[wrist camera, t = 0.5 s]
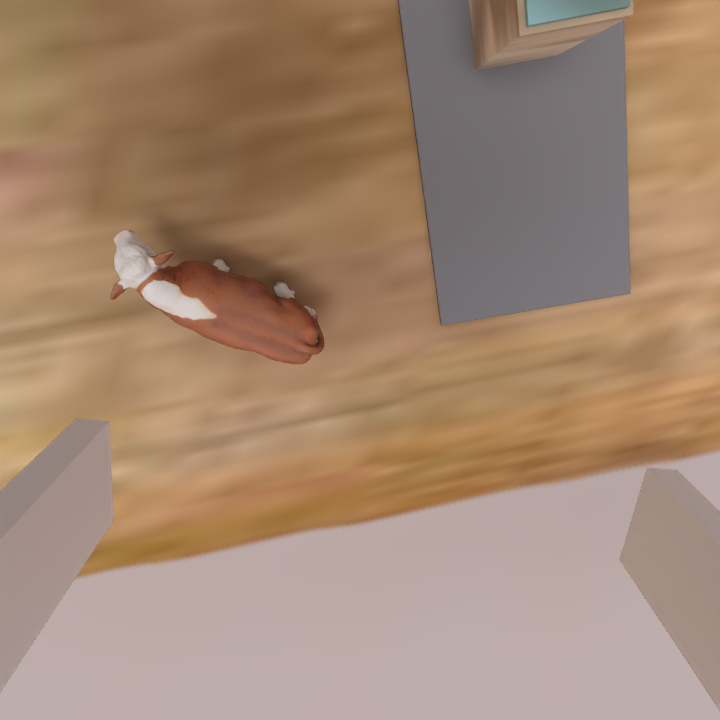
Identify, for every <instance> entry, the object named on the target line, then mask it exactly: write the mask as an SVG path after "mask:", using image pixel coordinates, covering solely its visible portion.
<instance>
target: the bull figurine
mask: <svg viewBox="0 0 720 720" xmlns="http://www.w3.org/2000/svg"><path fill="white" fill-rule="evenodd" d="M114 243H115V245H116V246H117V250H116V253H115V257H114V265H115V270H116V271H117V273H118V274H119V276H120V278H121V279H120V280H119V281H118V282H117V283H116V284H115V285H114V287H113V289H112V292H111V296H110V299H111V300H114V299H116V298H117V297H118V296H119V295H120V294H121V293H123V292H124V291H125V290H126V289H127V288H129V287H131V288H134V289H136V290H137V291H138V292H139V293H140V295H141V296H142V297H143V298H144V299H145V301H146V302H147V303H149V304H150V305H151V306H153V307H155V308H156V309H159V310H161V311H162V312H163V313H164V314H165V315H167V316H168V317H170V318H171V319H172V320H173V321H174V322H176V323H177V324H179V325H181V326H184V327H186V328H188V329H191V330H193V331H195V332H197V333H198V334H200V335H202V336H204V337H206V338H209V339H211V340H213V341H216V342H218V343H221V344H223V345H226V346H228V347H232V348H235V349H240V350H247V351H253V352H256V353H259V354H261V355H263V356H266V357H267V358H270V359H272V360H275V361H280V362H284V363H290V364H303V363H306V362H307V361H308V360H309V359H310V358H311V354H318V353H320V352H321V351H322V349H323V348H324V338H323V334H322V332H321V329H320V327H319V324H318V320H317V314H316V312H315V310H314V309H311V308H310V307H308V306H307V305H305V306H303V305H301V304H300V303H299V302H298V300H297V299H295V298H294V294H295V292H294V291H293V290H290V289H289V288H288V286H287V284H286V283H285V282H276V283H275V284H274V286H273V290H274V292H275V293H276V294H277V295H278V296H279V297H275V296H274V295H272V294H271V293H270V292H269V291H268V290H267V289H266V288H265V287H264V286H263V285H262V284H260V283H259V282H257V281H255V280H253V279H251V278H247V277H243V276H236V275H232V274H230V273H227V272H229V269H230V268H229V267H227V266H226V265H225V262H224V260H222V259H220V258H217V259H215V260H214V261H213V262H212V265H211V264H208V263H202V262H198V261H185V262H182V263H180V264H179V265H177V266H176V267H171V266H168V265H167V266H166V265H164V263H165V262H166V261H167V260H168V259H169V258H170V257H171V256H172V255H173V254H174V251H168V252H164V253H161V254H159V255H156V253H155V252H154V250H153V249H152V248H150V247H149V246H147V245H146V244H144V243H142V242H141V240H140V237H139V236H138V234H136V233H135V232H134V231H131V230H130V231H129V230H123V231H121V232H120V233H118V234H117V235H116V236H115V237H114ZM317 340H318V342H317ZM316 342H317V343H316Z"/></svg>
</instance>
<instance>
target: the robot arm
mask: <svg viewBox="0 0 720 720" xmlns="http://www.w3.org/2000/svg"><path fill="white" fill-rule="evenodd" d="M112 521H113V498H112V475H111V452H110V428H109V421H100V420H88V419H77V418H76V419H75V420H74V421H73V422H72V423H71V424H70V425H69V426H68V427H67V428H66V429H65V430H64V431H63V432H62V433H61V434H60V435H58V436H57V437H56V438H55V439H54V440H53V441H52V442H51V443H50V444H49V445H48V446H47V447H46V448H45V449H44V450H43V451H42V452H41V453H40V454H39V455H37V456H36V457H35V458H34V459H33V460H32V461H31V462H30V463H29V464H28V465H27V466H26V467H25V468H24V469H23V470H22V471H21V472H20V473H19V474H18V475H16V476H15V477H14V478H13V479H12V480H11V481H10V482H9V483H8V484H7V485H6V486H5V487H4V488H3V489H2V490H1V491H0V692H1V691H2V689H3V688H4V686H5V685H6V683H7V682H8V680H9V679H10V677H11V676H12V674H13V673H14V671H15V670H16V668H17V667H18V665H19V663H20V662H21V660H22V659H23V657H24V656H25V654H26V653H27V651H28V650H29V648H30V647H31V645H32V644H33V642H34V641H35V639H36V638H37V636H38V634H39V633H40V631H41V630H42V628H43V627H44V625H45V624H46V622H47V621H48V619H49V618H50V616H51V615H52V613H53V611H54V610H55V608H56V607H57V605H58V604H59V602H60V601H61V599H62V598H63V596H64V595H65V593H66V592H67V590H68V589H69V587H70V586H71V584H72V582H73V581H74V579H75V578H76V576H77V575H78V573H79V572H80V570H81V569H82V567H83V566H84V564H85V563H86V561H87V560H88V558H89V557H90V555H91V554H92V552H93V550H94V549H95V547H96V546H97V544H98V543H99V541H100V540H101V538H102V537H103V535H104V534H105V532H106V531H107V529H108V528H109V526H110V525H111V523H112ZM620 561H621V563H622V564H623V566H624V567H625V569H626V570H627V572H628V573H629V575H630V576H631V578H632V579H633V580H634V582H635V584H636V585H637V587H638V588H639V590H640V591H641V593H642V594H643V596H644V597H645V599H646V600H647V602H648V603H649V605H650V606H651V608H652V609H653V611H654V612H655V614H656V616H657V617H658V619H659V620H660V622H661V623H662V625H663V626H664V628H665V629H666V631H667V632H668V634H669V635H670V637H671V638H672V640H673V641H674V642H675V644H676V646H677V647H678V649H679V650H680V652H681V653H682V655H683V656H684V658H685V659H686V661H687V662H688V664H689V665H690V667H691V668H692V670H693V671H694V673H695V674H696V676H697V677H698V679H699V680H700V682H701V683H702V685H703V686H704V688H705V689H706V691H707V692H708V694H709V695H710V697H711V698H712V700H713V701H714V703H715V704H716V706H717V707H718V709H719V710H720V511H719V510H718V509H717V508H716V507H715V506H713V504H712V503H711V502H710V501H708V500H707V499H706V498H705V497H704V496H703V495H702V494H701V493H700V492H699V491H698V490H697V489H696V488H695V487H694V486H693V485H692V484H691V483H690V482H689V481H688V480H687V479H686V478H685V477H684V476H683V475H682V474H681V473H679V472H678V471H677V470H670V469H659V468H647V469H646V473H645V476H644V479H643V483H642V486H641V489H640V493H639V496H638V499H637V503H636V506H635V510H634V513H633V516H632V519H631V523H630V526H629V529H628V533H627V536H626V539H625V543H624V546H623V549H622V553H621V556H620Z"/></svg>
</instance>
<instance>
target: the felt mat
mask: <svg viewBox="0 0 720 720" xmlns="http://www.w3.org/2000/svg"><path fill="white" fill-rule="evenodd" d="M398 4H399V11H400V19H401V27H402V34H403V42H404V49H405V57H406V64H407V72H408V79H409V87H410V95H411V102H412V110H413V117H414V125H415V132H416V140H417V147H418V155H419V162H420V170H421V178H422V185H423V193H424V200H425V208H426V215H427V223H428V230H429V238H430V245H431V253H432V261H433V268H434V276H435V283H436V291H437V298H438V306H439V313H440V321H441V325H447V324H453V323H459V322H465V321H471V320H477V319H483V318H489V317H495V316H501V315H507V314H513V313H519V312H524V311H530V310H536V309H542V308H548V307H554V306H560V305H566V304H572V303H578V302H584V301H590V300H596V299H602V298H607V297H613V296H619V295H625V294H631V293H630V251H629V210H628V168H627V126H626V85H625V43H624V20H622V21H621V22H619V23H617V24H615V25H613V26H611V27H609V28H608V29H606V30H604V31H602V32H600V33H598V34H596V35H594V36H593V37H591V38H589V39H587V40H585V41H583V42H581V43H579V44H578V45H576V46H574V47H572V48H570V49H568V50H566V51H564V52H563V53H561V54H559V55H556V56H550V57H545V58H540V59H535V60H529V61H524V62H519V63H513V64H508V65H503V66H497V67H492V68H487V69H481V70H476V71H475V65H474V55H473V45H472V35H471V25H470V15H469V5H468V0H398Z"/></svg>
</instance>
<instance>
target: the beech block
mask: <svg viewBox="0 0 720 720" xmlns="http://www.w3.org/2000/svg"><path fill="white" fill-rule="evenodd" d="M468 5H469V15H470V25H471V35H472V45H473V55H474V65H475V71H476V70H481V69H487V68H492V67H497V66H503V65H508V64H513V63H519V62H524V61H529V60H535V59H540V58H545V57H550V56H556V55H559V54H561V53H563V52H564V51H566V50H568V49H570V48H572V47H574V46H576V45H578V44H579V43H581V42H583V41H585V40H587V39H589V38H591V37H593V36H594V35H596V34H598V33H600V32H602V31H604V30H606V29H608V28H609V27H611V26H613V25H615V24H617V23H619V22H621V21H622V20H624V19H626V18H628V17H630V16H632V15H633V0H468Z"/></svg>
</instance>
